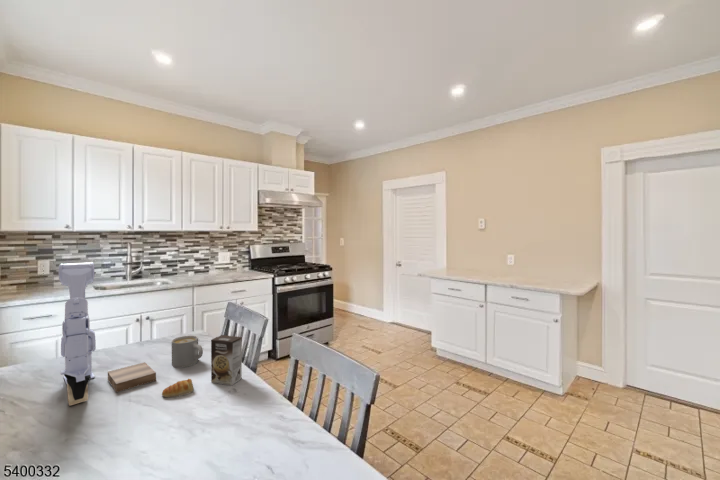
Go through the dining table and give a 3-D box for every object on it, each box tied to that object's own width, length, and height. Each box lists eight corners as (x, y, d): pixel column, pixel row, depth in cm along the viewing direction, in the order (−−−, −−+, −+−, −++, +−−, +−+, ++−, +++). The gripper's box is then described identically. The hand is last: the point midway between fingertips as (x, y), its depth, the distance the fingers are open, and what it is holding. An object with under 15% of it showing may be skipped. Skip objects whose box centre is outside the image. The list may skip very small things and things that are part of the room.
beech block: (67, 400, 104) (67, 382, 104) (85, 395, 108) (85, 377, 108) (69, 405, 101) (69, 387, 101) (87, 400, 105) (87, 382, 104)
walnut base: (107, 379, 121) (107, 371, 121) (145, 369, 130) (145, 362, 129) (116, 392, 111) (116, 383, 111) (156, 380, 120) (155, 372, 120)
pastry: (164, 401, 106) (163, 390, 106) (160, 393, 111) (160, 382, 111) (195, 392, 112) (195, 381, 112) (190, 385, 117) (190, 375, 117)
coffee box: (210, 383, 119) (210, 339, 118) (221, 375, 125) (221, 334, 124) (232, 386, 116) (231, 341, 116) (242, 378, 123) (242, 336, 122)
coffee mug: (166, 364, 134) (166, 340, 134) (188, 356, 143) (188, 334, 143) (187, 371, 128) (187, 346, 128) (208, 362, 137) (208, 338, 137)
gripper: (57, 352, 106) (58, 392, 106) (62, 365, 96) (63, 409, 97) (85, 346, 111) (86, 385, 112) (93, 358, 101) (93, 400, 102)
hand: (77, 396), depth 104 cm, fingers closed on beech block, 4 cm apart
